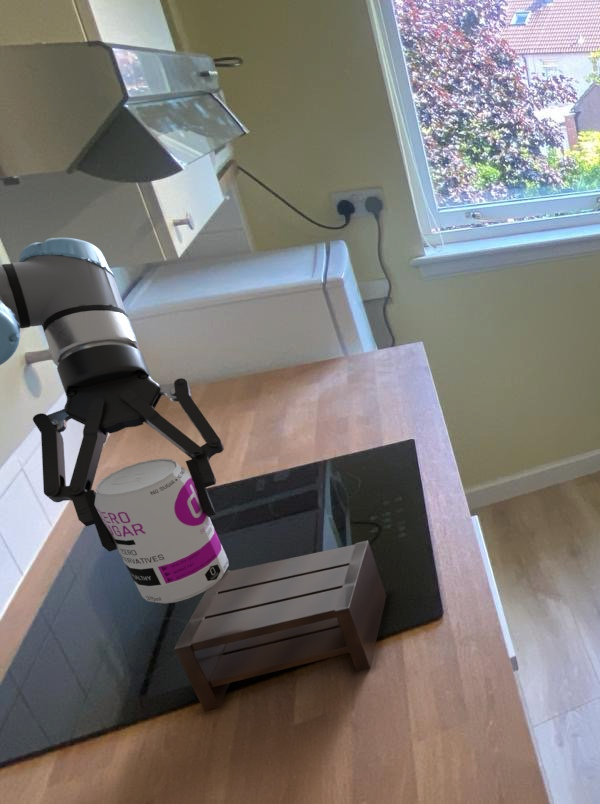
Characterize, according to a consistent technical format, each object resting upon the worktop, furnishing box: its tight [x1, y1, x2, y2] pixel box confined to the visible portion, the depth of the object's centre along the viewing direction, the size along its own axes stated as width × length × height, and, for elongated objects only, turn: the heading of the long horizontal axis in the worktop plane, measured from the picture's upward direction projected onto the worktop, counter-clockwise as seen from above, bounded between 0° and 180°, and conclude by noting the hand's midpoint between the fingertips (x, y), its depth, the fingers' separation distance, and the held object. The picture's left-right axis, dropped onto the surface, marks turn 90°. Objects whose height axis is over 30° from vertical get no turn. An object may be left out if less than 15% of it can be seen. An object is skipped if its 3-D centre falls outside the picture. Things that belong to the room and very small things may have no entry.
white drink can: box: [94, 458, 230, 605], centre depth 84 cm, size 8×8×15 cm
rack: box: [173, 540, 387, 712], centre depth 95 cm, size 18×14×10 cm
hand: (161, 529), depth 82 cm, fingers closed on white drink can, 8 cm apart
